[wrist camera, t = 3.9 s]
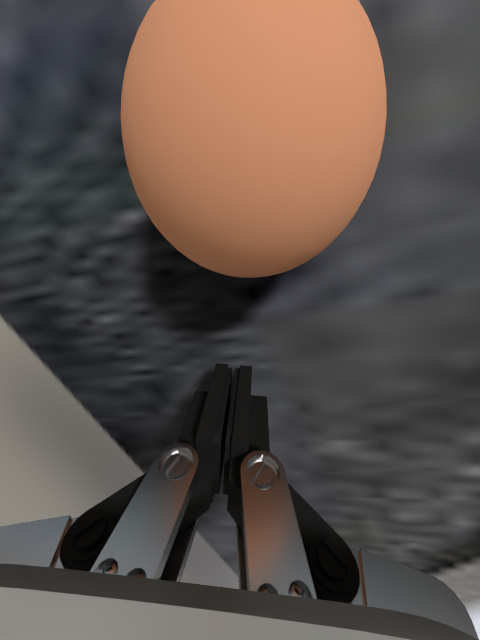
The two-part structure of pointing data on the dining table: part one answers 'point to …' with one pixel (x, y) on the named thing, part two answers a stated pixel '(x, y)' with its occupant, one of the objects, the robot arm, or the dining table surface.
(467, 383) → the dining table surface
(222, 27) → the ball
